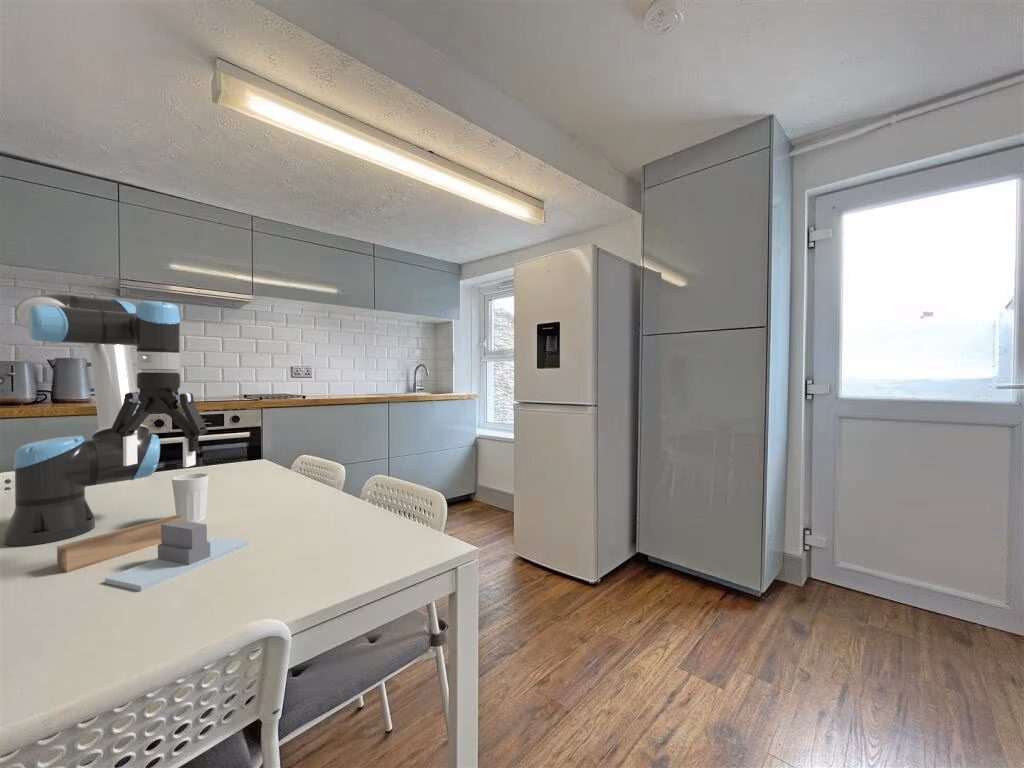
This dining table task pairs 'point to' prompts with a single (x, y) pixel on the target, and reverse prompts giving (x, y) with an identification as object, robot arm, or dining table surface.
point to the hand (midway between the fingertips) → (159, 465)
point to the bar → (110, 545)
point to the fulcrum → (176, 555)
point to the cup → (191, 496)
